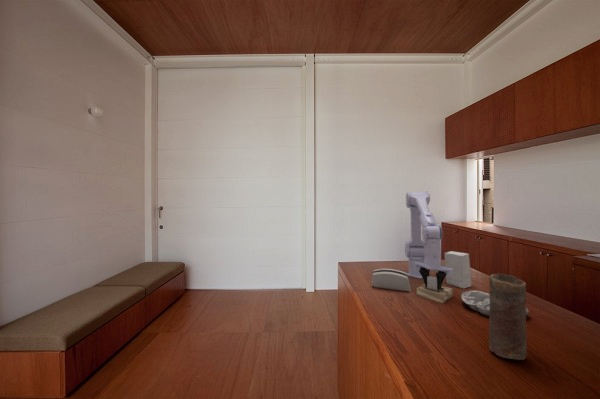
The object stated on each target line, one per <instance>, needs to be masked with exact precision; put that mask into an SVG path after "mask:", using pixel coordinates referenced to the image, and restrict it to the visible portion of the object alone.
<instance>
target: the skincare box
mask: <svg viewBox="0 0 600 399" xmlns="http://www.w3.org/2000/svg"><path fill="white" fill-rule="evenodd" d="M470 262H471V261H470V254H469V253H466V252H460V251H459V252H458V251H453V250H451V251H447V252H444V263H445V264H444V267H448V268H452V269H453V274H452V275H450V274H448V273H447V275H446V276H445V280H446V284H447V285H451V286H454V287H457V288H461V289H467V288H470V287H472V276H471V264H470Z"/></svg>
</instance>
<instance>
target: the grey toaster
mask: <svg viewBox="0 0 600 399" xmlns="http://www.w3.org/2000/svg"><path fill="white" fill-rule="evenodd" d="M407 273H408V272H405V271H401V270H397V269H395V268H394V269H393V268H378V269H374V270H373V272H372V274H371V275H372V279H371V287H372V286H374V287H373V288H379V287H380V288H381V289H389V290H396V291H405V292H411V291H412V289H411V282H410V278H409V277H410V276H408V274H407Z"/></svg>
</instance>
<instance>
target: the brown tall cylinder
mask: <svg viewBox="0 0 600 399" xmlns="http://www.w3.org/2000/svg"><path fill="white" fill-rule="evenodd" d="M526 291H527V283H526V282H525V281H524V280H523V279H521V278H518V277H516V276H514V275H511V274H504V273H492V274H490V275H489V294H490V316H488V317H489V318H488V319H489V322H488V323H489V326H488V327H489V330H488V348H489V349H488V350H489V351H490V352H492V353H494V354H495V355H497V356H498V357H502V358H503V359H504V358H505V359H511V360H513V361H523V360H525V359H526V358H527V314H526V308H527V294H526Z"/></svg>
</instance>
